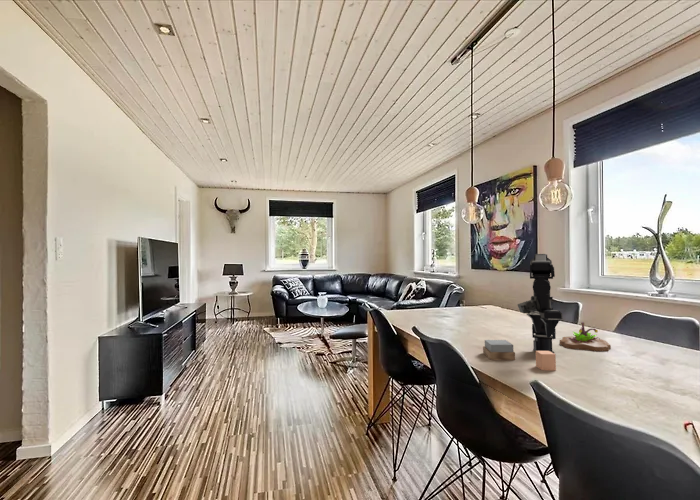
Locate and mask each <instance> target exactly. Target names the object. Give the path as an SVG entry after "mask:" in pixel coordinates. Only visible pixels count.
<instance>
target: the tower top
mask: <svg viewBox="0 0 700 500" xmlns="http://www.w3.org/2000/svg"><path fill="white" fill-rule="evenodd" d="M484 346H485V347H486V348H487V349H488V350H489V351H490V352H513V351H514V344H513V343H511V342H510V341H508V340H506V339H484Z"/></svg>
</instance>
